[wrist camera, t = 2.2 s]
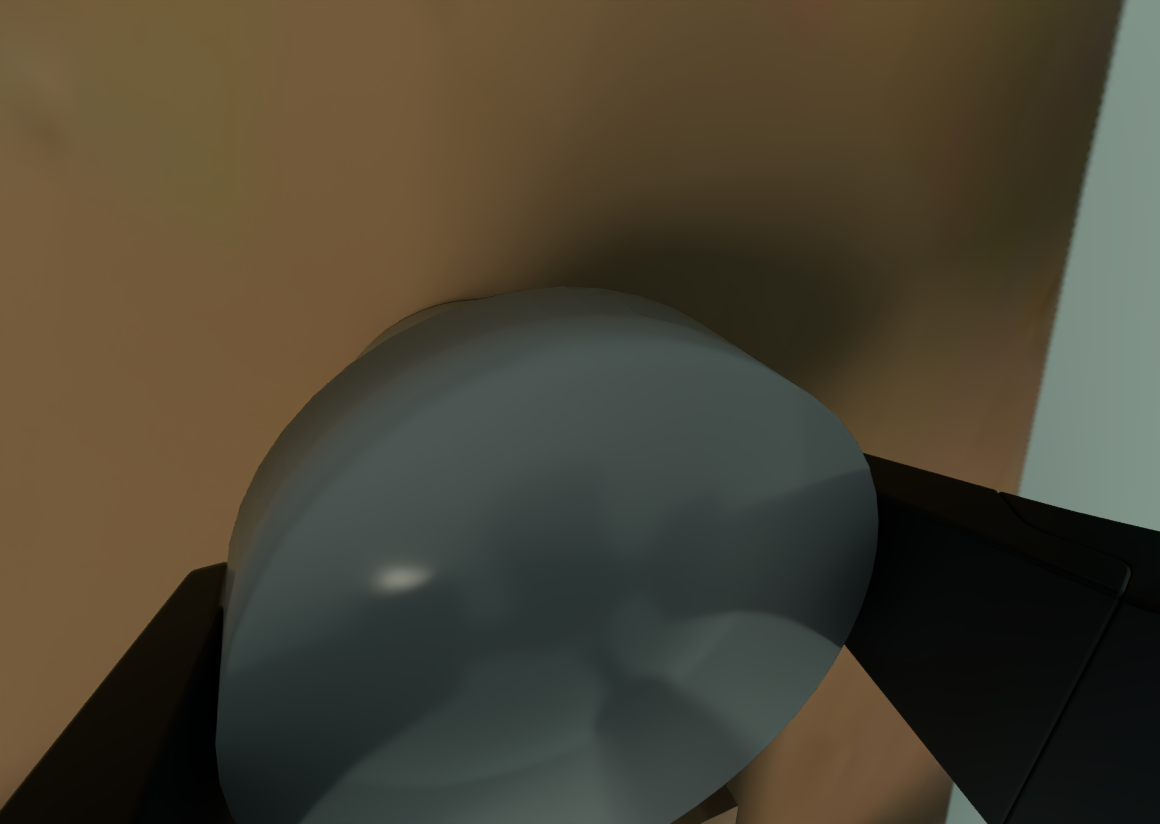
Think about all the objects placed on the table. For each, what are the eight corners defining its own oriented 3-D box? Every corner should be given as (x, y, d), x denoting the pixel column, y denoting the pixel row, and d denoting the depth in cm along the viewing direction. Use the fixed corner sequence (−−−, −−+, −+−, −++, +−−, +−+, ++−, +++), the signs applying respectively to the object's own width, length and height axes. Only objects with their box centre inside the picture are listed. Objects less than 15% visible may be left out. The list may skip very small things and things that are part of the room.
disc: (804, 246, 8) (943, 299, 6) (743, 654, 11) (823, 756, 10) (120, 351, 6) (66, 481, 4) (308, 823, 9) (319, 994, 7)
